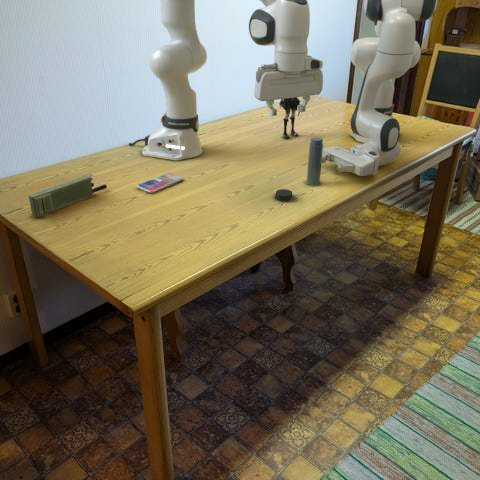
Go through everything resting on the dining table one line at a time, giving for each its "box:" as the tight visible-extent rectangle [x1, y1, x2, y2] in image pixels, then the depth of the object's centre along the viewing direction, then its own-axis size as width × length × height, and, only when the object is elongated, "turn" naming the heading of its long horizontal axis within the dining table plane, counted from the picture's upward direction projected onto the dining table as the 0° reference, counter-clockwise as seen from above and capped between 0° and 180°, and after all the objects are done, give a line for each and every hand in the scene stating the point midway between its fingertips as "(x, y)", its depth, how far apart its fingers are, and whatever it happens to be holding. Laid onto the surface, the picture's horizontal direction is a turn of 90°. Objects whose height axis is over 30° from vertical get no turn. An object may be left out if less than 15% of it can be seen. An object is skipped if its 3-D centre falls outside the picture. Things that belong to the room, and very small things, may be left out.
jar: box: [306, 136, 324, 186], centre depth 163 cm, size 4×4×15 cm
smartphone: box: [136, 172, 184, 194], centre depth 164 cm, size 7×1×15 cm
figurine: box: [279, 97, 303, 140], centre depth 202 cm, size 15×6×30 cm, turn 132°
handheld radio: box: [28, 173, 108, 219], centre depth 150 cm, size 7×3×25 cm
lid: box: [274, 188, 293, 202], centre depth 156 cm, size 5×5×2 cm
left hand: (287, 113), depth 143 cm, fingers open, 8 cm apart
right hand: (329, 164), depth 168 cm, fingers open, 8 cm apart
